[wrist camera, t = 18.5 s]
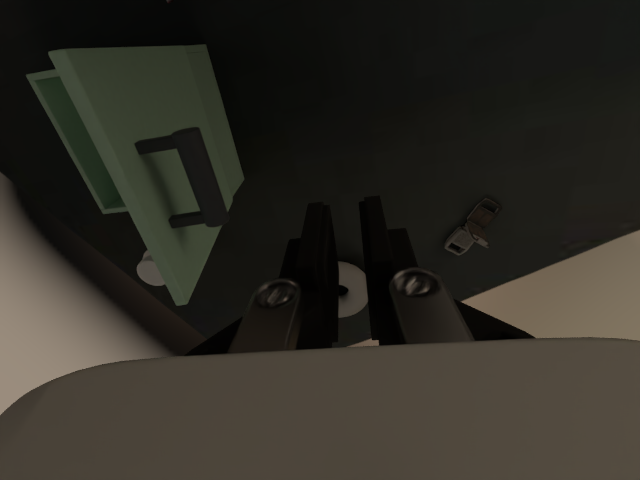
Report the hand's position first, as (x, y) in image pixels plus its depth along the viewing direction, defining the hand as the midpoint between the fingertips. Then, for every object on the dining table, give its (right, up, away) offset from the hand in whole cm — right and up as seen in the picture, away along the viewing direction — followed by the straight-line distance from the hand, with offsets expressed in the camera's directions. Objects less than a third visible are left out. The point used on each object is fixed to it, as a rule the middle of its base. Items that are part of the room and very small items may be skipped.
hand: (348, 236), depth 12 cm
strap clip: (+19, +2, +32) cm, 38 cm away
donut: (+2, -7, +39) cm, 39 cm away
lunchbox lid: (-12, +6, +14) cm, 19 cm away
